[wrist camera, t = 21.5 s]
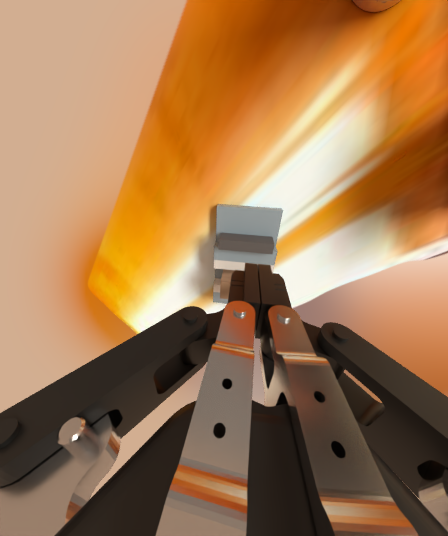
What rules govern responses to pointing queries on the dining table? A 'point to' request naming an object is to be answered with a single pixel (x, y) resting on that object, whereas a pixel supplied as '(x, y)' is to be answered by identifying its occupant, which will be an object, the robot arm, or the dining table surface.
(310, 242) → the dining table surface
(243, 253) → the vise jaw
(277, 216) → the vise
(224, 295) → the walnut block
